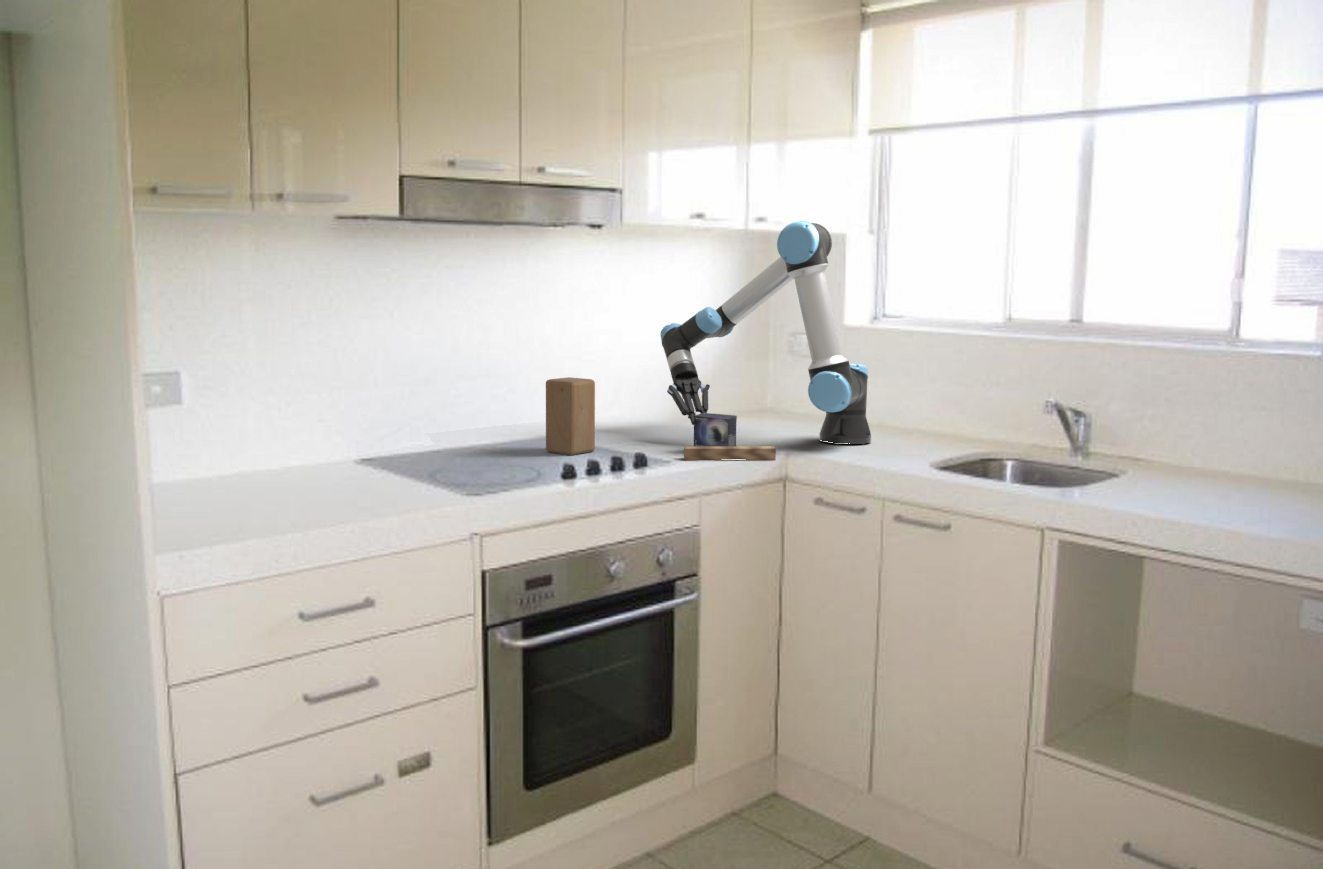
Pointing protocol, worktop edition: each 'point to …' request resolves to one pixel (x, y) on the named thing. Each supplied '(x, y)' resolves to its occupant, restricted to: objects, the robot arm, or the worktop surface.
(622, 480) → the worktop surface
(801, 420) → the worktop surface
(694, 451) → the long brown wooden bar
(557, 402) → the wooden block
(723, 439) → the small box
